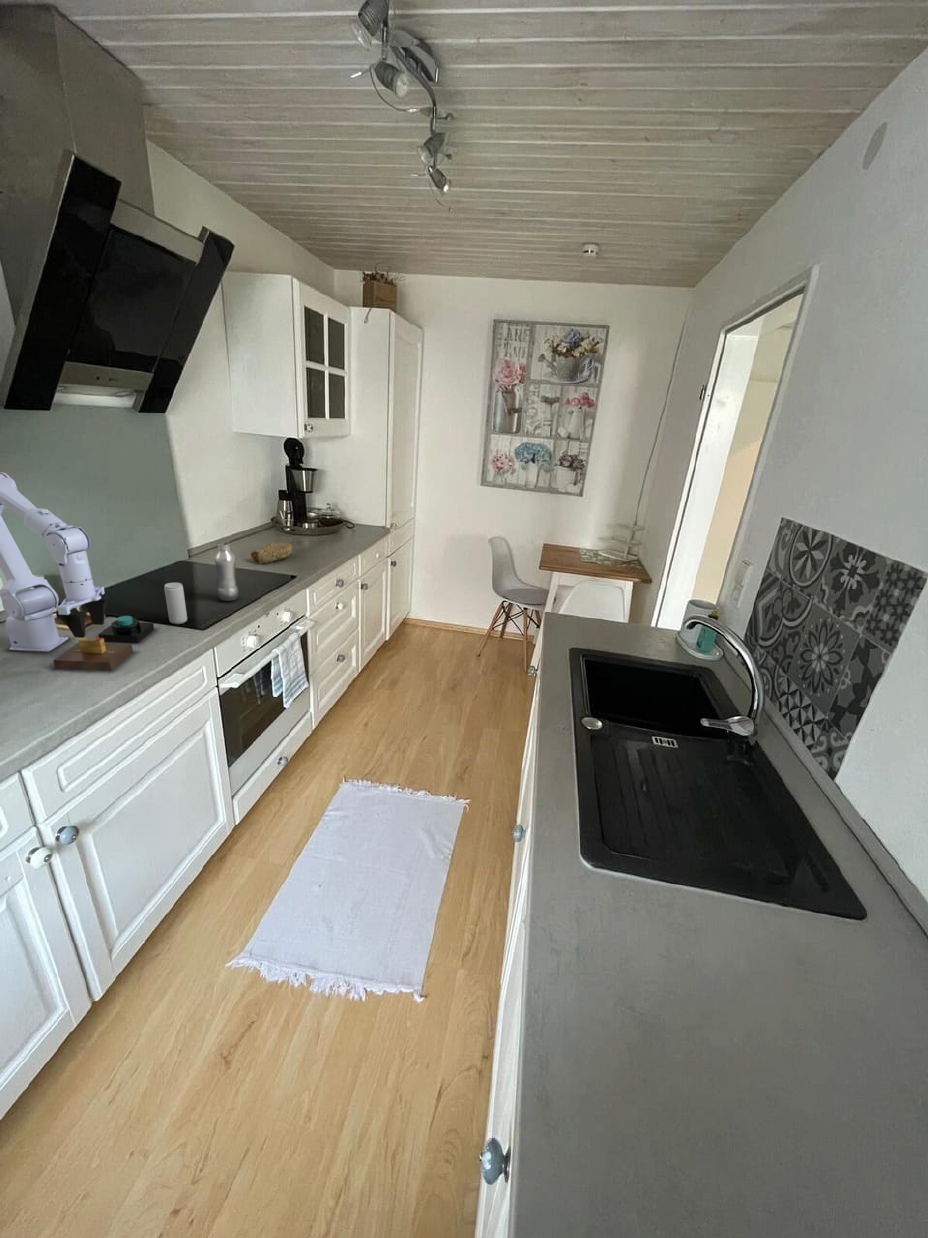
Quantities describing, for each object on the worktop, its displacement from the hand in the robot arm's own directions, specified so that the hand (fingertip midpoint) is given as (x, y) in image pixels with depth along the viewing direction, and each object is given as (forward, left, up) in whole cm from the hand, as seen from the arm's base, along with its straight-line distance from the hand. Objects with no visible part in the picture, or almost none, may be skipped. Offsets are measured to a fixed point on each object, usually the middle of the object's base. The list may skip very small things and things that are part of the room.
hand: (89, 630), depth 121 cm
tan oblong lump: (+19, +96, -9) cm, 98 cm away
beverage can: (+9, +26, -9) cm, 29 cm away
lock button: (0, +15, -5) cm, 16 cm away
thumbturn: (0, 0, -6) cm, 6 cm away
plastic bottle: (+17, +46, -9) cm, 50 cm away
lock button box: (0, +15, -9) cm, 17 cm away
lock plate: (0, 0, -9) cm, 9 cm away
